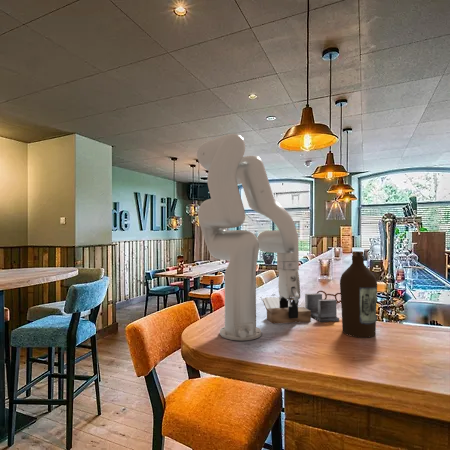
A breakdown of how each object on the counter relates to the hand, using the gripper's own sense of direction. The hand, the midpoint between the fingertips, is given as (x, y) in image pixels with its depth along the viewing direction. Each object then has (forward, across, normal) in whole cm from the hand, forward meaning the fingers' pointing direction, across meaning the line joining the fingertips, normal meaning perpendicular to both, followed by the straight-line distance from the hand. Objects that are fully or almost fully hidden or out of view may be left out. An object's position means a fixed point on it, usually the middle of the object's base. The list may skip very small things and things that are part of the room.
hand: (288, 314), depth 114 cm
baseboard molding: (+3, +19, -2) cm, 19 cm away
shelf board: (+2, 0, 0) cm, 2 cm away
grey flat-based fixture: (+2, +3, -13) cm, 14 cm away
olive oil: (+2, -18, -16) cm, 24 cm away
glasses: (+3, +21, -24) cm, 33 cm away
